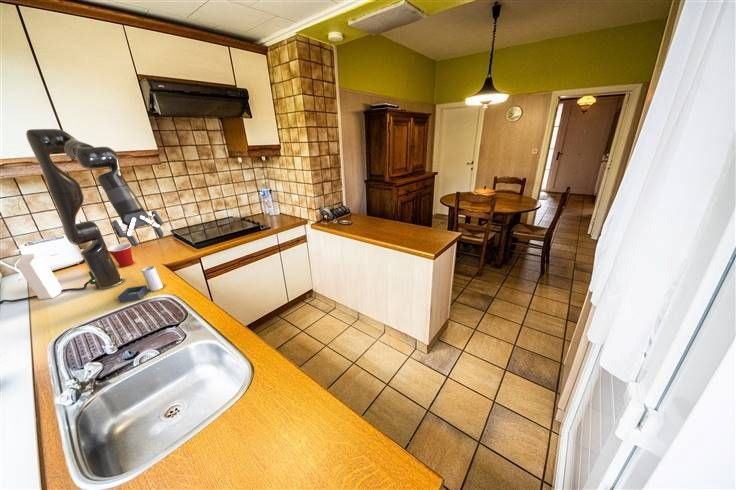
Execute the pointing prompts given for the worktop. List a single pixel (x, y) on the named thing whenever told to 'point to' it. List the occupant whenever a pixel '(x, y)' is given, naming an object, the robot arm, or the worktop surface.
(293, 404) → the worktop surface
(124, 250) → the plastic cup
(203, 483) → the worktop surface
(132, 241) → the robot arm
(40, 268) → the milk
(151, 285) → the tumbler
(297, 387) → the worktop surface
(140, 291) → the dark square dish
